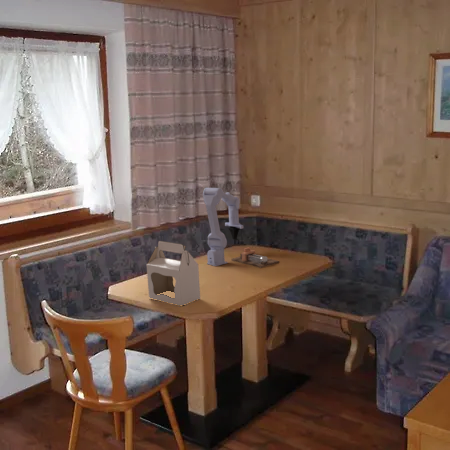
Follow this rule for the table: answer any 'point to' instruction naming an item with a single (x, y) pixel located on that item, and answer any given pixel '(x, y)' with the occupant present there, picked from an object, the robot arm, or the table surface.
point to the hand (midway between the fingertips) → (234, 239)
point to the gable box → (173, 275)
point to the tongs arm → (255, 255)
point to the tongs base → (256, 259)
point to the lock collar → (246, 252)
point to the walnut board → (269, 262)
